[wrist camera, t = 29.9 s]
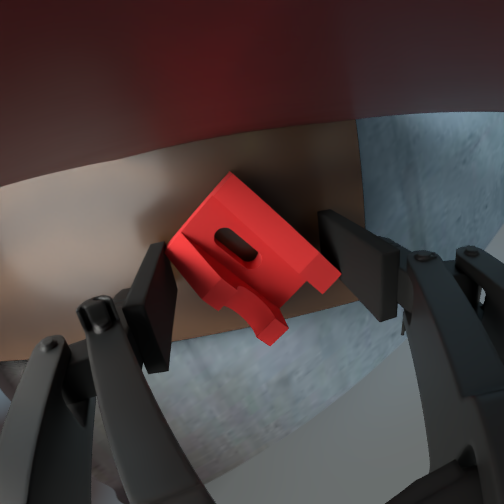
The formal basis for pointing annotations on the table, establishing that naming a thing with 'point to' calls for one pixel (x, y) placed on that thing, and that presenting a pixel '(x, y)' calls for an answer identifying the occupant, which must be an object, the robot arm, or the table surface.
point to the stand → (162, 225)
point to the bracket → (242, 272)
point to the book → (228, 70)
